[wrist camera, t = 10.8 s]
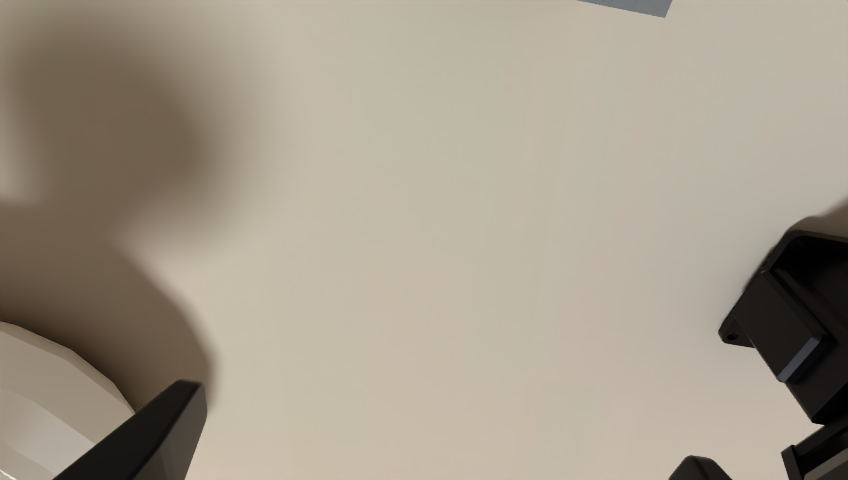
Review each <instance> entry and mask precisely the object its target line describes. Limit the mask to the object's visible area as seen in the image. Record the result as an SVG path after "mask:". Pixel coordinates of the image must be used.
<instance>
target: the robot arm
mask: <svg viewBox="0 0 848 480" xmlns="http://www.w3.org/2000/svg"><path fill="white" fill-rule="evenodd" d="M799 240H800V241H799ZM797 241H799V242H798V243H797V244H795V243H796V242H797ZM731 333H732V334H731ZM718 335H719V336H720V338H721V339H722V341H723V342H724V343H727V344H732V345H738V346H744V347H750V348H756V350H757V351H758V352H759V354H760V355H761V357H762V358H763V360H764V361H765V363H766V364H767V366H768V367H769V368H770V370H771V371H772V373H773V374H774V376H775V377H776V379H777V380H778V381H779V382H783V383H785V385H786V386H787V387H788V389H789V390H790V392H791V393H792V395H793V396H794V398H795V399H796V400H797V402H798V403H799V405H800V406H801V408H802V409H803V410H804V412H805V413H806V415H807V416H808V418H809V419H810V420H811V422H812V423H815V424H821V425H824V426H823V427H821V428H820V429H819V430H817V431H816V432H814V433H813V434H811V435H810V436H808V437H807V438H805V439H804V440H803V441H801V442H800V443H798V444H797V445H791V446H789V447H788V448H786V449H785V450H783V451H782V452H781V455H782V458H783V462H784V465H785V468H786V471H787V474H788V478H789V480H848V239H847V238H842V237H836V236H830V235H825V234H819V233H813V232H808V231H802V230H796V231H792V232H790V233H788V234H787V235H786V236H785V237H784V238H783V239H782V240H781V242H780V243H779V245H778V246H777V248H776V249H775V250H774V252H773V253H772V255H771V256H770V258H769V259H768V260H767V262H766V263H765V265H764V266H763V268H762V269H761V270H760V272H759V273H758V275H757V276H756V277H755V279H754V280H753V282H752V283H751V285H750V286H749V287H748V289H747V290H746V292H745V293H744V295H743V296H742V297H741V299H740V300H739V302H738V303H737V305H736V306H735V307H734V309H733V310H732V312H731V313H730V315H729V316H728V317H727V319H726V320H725V322H724V323H723V325H722V326H721V327H720V329H719V331H718ZM206 417H207V404H206V396H205V389H204V385H203V383H202V382H199V381H193V380H186V379H180V380H178V381H176V382H174V383H173V384H172V385H170V386H169V387H168V388H167V389H165V390H164V391H163V392H162V393H160V394H159V395H158V396H157V397H155V398H154V399H153V400H151V401H150V402H149V403H148V404H146V405H145V406H144V407H143V408H141V409H140V410H139V411H138V412H136V413H135V414H134V415H133V416H131V417H130V418H129V419H128V420H126V421H125V422H124V423H123V424H121V425H120V426H119V427H117V428H116V429H115V430H114V431H112V432H111V433H110V434H109V435H107V436H106V437H105V438H104V439H102V440H101V441H100V442H99V443H97V444H96V445H95V446H94V447H92V448H91V449H90V450H88V451H87V452H86V453H85V454H83V455H82V456H81V457H80V458H78V459H77V460H76V461H75V462H73V463H72V464H71V465H70V466H68V467H67V468H66V469H65V470H63V471H62V472H61V473H60V474H58V475H57V476H56V477H54V478H53V479H52V480H185V477H186V474H187V471H188V469H189V466H190V463H191V460H192V458H193V455H194V452H195V449H196V447H197V444H198V441H199V438H200V436H201V433H202V430H203V427H204V424H205V421H206ZM669 480H732V479H731V478H730V477H729V476H728V475H727V474H726V473H725V472H724V471H723V469H722V468H721V467H720V466H719V465H718V464H717V463H716V462H715V461H713V460H712V459H710V458H706V457H700V456H693V455H690V456H687V457H686V458H685V459H684V460H683V461H682V462H681V464H680V465H679V466H678V467H677V469H676V470H675V471H674V472H673V473H672V475H671V476H670V477H669Z"/></svg>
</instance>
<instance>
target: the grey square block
mask: <svg viewBox="0 0 848 480" xmlns="http://www.w3.org/2000/svg"><path fill="white" fill-rule="evenodd" d="M579 1H584V2H589V3H594V4H599V5H604V6H608V7H613V8H618V9H623V10H628V11H633V12H638V13H643V14H648V15H653V16H658V17H663V18H665V16H666V14H667V11H668V9H669V7H670V4H671V2H672V0H579Z"/></svg>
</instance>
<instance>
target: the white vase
mask: <svg viewBox="0 0 848 480" xmlns="http://www.w3.org/2000/svg"><path fill="white" fill-rule="evenodd" d="M134 414H135V412H134V410H133V409H132V408H131V406H130V405H129V404H128V402H127V401H126V400H125V398H124V397H123V395H122V394H121V393H120V391H119V390H118V389H117V387H116V386H115V385H114V383H113V382H112V381H110V380H109V379H108V378H107V377H105V376H104V375H103V374H102V373H100V372H99V371H98V370H96V369H95V368H94V367H93V366H91V365H90V364H89V363H88V362H86V361H85V360H84V359H82V358H81V357H80V356H79V355H77V354H76V353H75V352H74V351H72V350H71V349H68V348H66V347H64V346H62V345H59V344H57V343H55V342H53V341H50V340H48V339H46V338H44V337H41V336H39V335H37V334H35V333H32V332H30V331H28V330H26V329H24V328H21V327H19V326H17V325H14V324H9V323H5V322H1V321H0V480H52V479H53V478H54V477H56V476H57V475H58V474H60V473H61V472H62V471H63V470H65V469H66V468H67V467H68V466H70V465H71V464H72V463H73V462H75V461H76V460H77V459H78V458H80V457H81V456H82V455H83V454H85V453H86V452H87V451H88V450H90V449H91V448H92V447H94V446H95V445H96V444H97V443H99V442H100V441H101V440H102V439H104V438H105V437H106V436H107V435H109V434H110V433H111V432H112V431H114V430H115V429H116V428H117V427H119V426H120V425H121V424H123V423H124V422H125V421H126V420H128V419H129V418H130V417H131V416H133V415H134Z"/></svg>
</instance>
